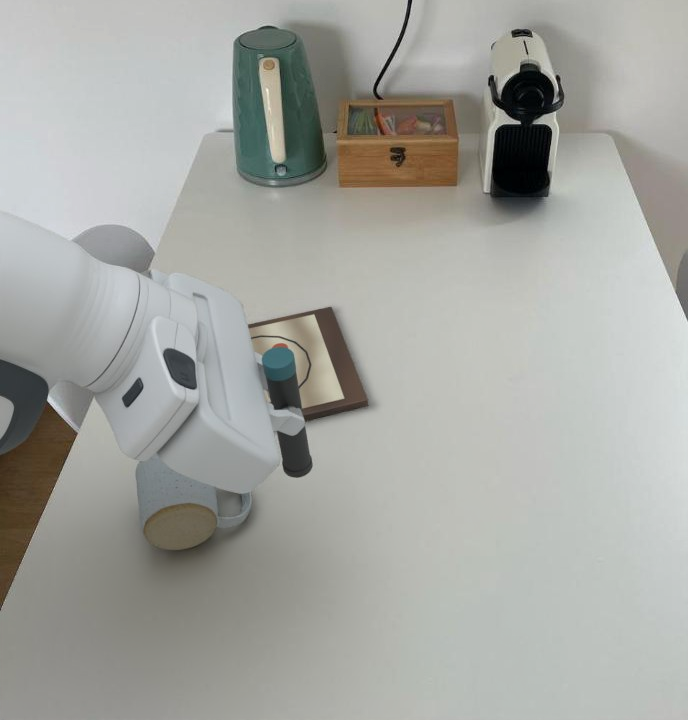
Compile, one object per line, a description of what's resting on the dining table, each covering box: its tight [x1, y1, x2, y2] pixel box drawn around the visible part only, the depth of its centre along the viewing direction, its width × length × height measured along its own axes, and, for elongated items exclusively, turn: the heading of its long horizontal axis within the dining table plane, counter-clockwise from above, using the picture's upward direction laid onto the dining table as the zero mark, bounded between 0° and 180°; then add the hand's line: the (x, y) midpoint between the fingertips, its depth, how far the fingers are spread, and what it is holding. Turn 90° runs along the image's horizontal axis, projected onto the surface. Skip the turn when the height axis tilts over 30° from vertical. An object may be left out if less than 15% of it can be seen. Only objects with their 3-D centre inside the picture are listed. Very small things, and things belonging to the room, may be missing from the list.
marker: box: [262, 347, 314, 479], centre depth 67 cm, size 3×3×13 cm
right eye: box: [272, 343, 288, 348], centre depth 98 cm, size 2×2×1 cm
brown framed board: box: [247, 306, 369, 422], centre depth 97 cm, size 22×18×1 cm
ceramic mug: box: [134, 453, 253, 551], centre depth 80 cm, size 11×8×8 cm
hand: (294, 408), depth 66 cm, fingers closed on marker, 2 cm apart
